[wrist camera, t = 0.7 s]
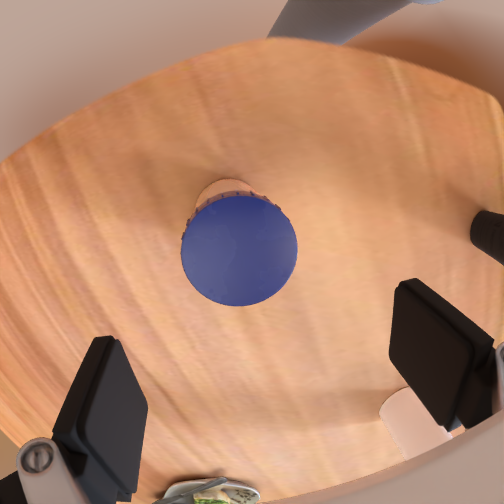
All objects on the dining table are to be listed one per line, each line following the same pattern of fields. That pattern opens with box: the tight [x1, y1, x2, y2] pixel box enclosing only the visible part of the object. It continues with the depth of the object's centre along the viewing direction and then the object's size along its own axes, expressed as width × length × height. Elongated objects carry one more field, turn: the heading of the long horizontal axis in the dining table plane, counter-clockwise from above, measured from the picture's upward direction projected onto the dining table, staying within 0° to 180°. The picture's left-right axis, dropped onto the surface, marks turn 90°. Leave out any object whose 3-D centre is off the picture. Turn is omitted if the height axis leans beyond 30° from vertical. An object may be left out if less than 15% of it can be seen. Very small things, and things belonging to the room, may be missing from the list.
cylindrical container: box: [379, 387, 453, 461], centre depth 29 cm, size 7×7×25 cm
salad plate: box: [152, 477, 260, 504], centre depth 41 cm, size 19×18×5 cm
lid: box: [181, 189, 298, 306], centre depth 19 cm, size 7×7×2 cm
